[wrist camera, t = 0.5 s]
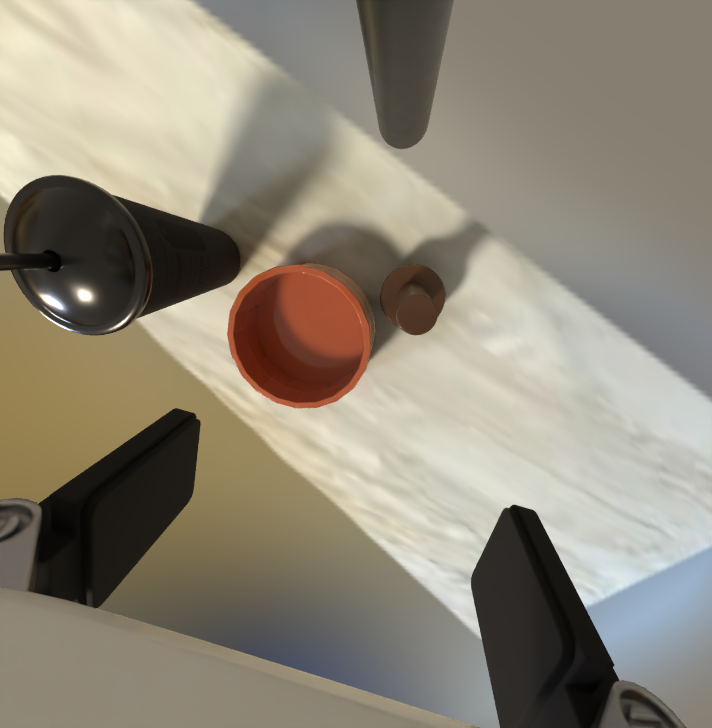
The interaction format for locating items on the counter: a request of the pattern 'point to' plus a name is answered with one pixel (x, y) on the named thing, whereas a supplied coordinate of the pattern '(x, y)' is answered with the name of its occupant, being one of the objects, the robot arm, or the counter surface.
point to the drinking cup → (107, 255)
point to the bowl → (301, 334)
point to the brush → (413, 298)
